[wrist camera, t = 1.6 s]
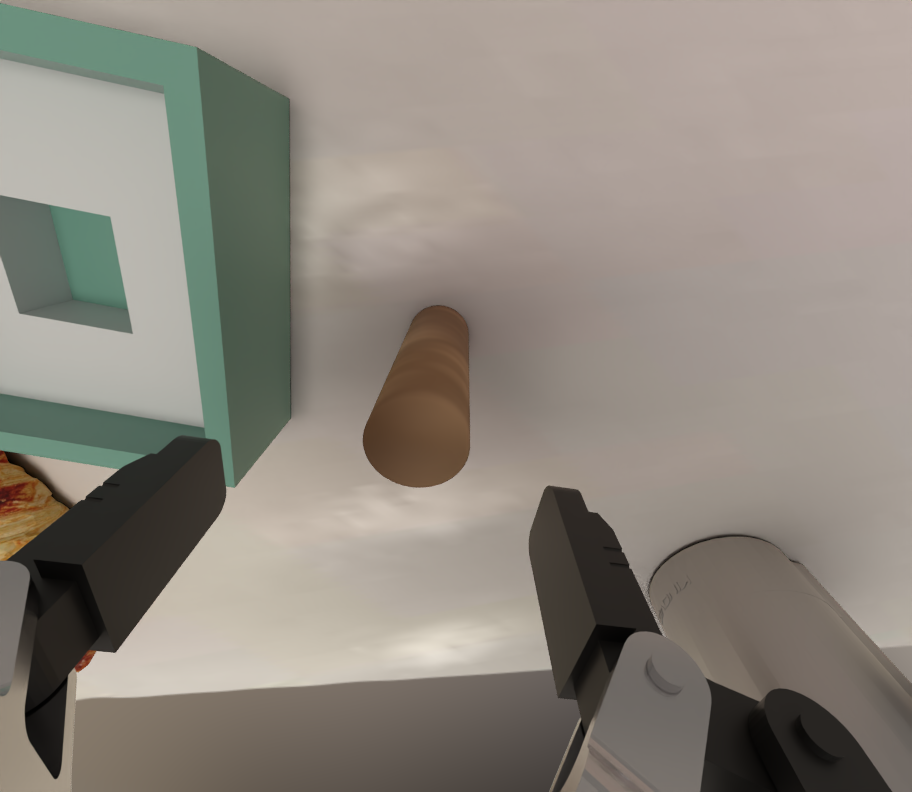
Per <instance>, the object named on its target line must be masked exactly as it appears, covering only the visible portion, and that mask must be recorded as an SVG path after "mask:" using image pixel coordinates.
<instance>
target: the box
mask: <svg viewBox="0 0 912 792" xmlns="http://www.w3.org/2000/svg"><path fill="white" fill-rule="evenodd" d="M290 419H291V401H290V176H289V99H288V98H286V97H285V96H283V95H281V94H279V93H278V92H276V91H274V90H272V89H270V88H269V87H267V86H265V85H263V84H261V83H260V82H258V81H256V80H254V79H252V78H251V77H249V76H247V75H245V74H244V73H242V72H240V71H238V70H236V69H235V68H233V67H231V66H229V65H227V64H226V63H224V62H222V61H220V60H219V59H217V58H215V57H213V56H211V55H210V54H208V53H206V52H204V51H202V50H201V49H199V48H197V47H193V46H189V45H184V44H180V43H176V42H171V41H167V40H162V39H158V38H153V37H149V36H144V35H140V34H135V33H131V32H126V31H122V30H117V29H113V28H109V27H104V26H100V25H95V24H91V23H86V22H82V21H77V20H73V19H68V18H64V17H59V16H55V15H51V14H46V13H42V12H37V11H33V10H28V9H24V8H19V7H15V6H10V5H6V4H1V3H0V450H2V451H8V452H14V453H21V454H27V455H33V456H39V457H46V458H52V459H58V460H64V461H71V462H77V463H83V464H90V465H96V466H102V467H108V468H115V469H121V468H122V467H123V466H125V465H127V464H129V463H131V462H133V461H135V460H137V459H140V458H142V457H144V456H146V455H148V454H150V453H153V454H157V453H158V452H159V451H161V450H162V449H163V448H164V447H165V446H166V445H168V444H169V443H170V442H171V441H172V440H174V439H175V438H176V437H178V436H181V435H186V436H193V437H200V438H208V439H215V440H217V441H218V442H219V443H220V446H221V452H222V460H223V468H224V476H225V484H226V486H227V487H234V488H235V487H236V486H237V484H238V483H239V482H240V481H241V479H242V478H243V477H244V476H245V474H246V473H247V472H248V471H249V469H250V468H251V467H252V466H253V464H254V463H255V462H256V461H257V460H258V458H259V457H260V456H261V455H262V453H263V452H264V451H265V450H266V448H267V447H268V446H269V445H270V443H271V442H272V441H273V440H274V438H275V437H276V436H277V435H278V433H279V432H280V431H281V430H282V428H283V427H284V426H285V425H286V424H287V422H288V421H289V420H290Z"/></svg>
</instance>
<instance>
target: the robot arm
mask: <svg viewBox="0 0 912 792" xmlns="http://www.w3.org/2000/svg"><path fill="white" fill-rule="evenodd" d="M225 498H226V484H225V476H224V468H223V460H222V452H221V446H220V443H219V442H218V441H217V440H215V439H208V438H200V437H193V436H186V435H181V436H178V437H176V438H175V439H174V440H172V441H171V442H170V443H169V444H168V445H166V446H165V447H164V448H163V449H162V450H161V451H159V452H158V453H157V454H153V453H150V454H148V455H146V456H144V457H142V458H140V459H137V460H135V461H133V462H131V463H129V464H127V465H125V466H123V467H122V468H121V469H119V470H118V471H117V472H116V473H114V474H113V475H112V476H111V477H110V478H108V479H107V480H106V481H105V482H103V485H102V486H98V487H97V488H96V489H95V490H93V491H92V492H91V493H90V494H88V495H87V496H86V499H85V500H81V501H80V502H78V503H77V504H76V505H75V506H73V507H72V508H71V509H70V510H68V511H67V512H66V513H65V514H63V515H62V516H61V517H60V518H58V519H57V520H56V521H55V522H53V523H52V524H51V525H50V526H49V527H47V528H46V529H45V530H44V531H42V532H41V533H40V534H39V535H37V536H36V537H35V538H34V539H32V540H31V541H30V542H29V543H27V544H26V545H25V546H24V547H22V548H21V549H20V550H19V551H17V552H16V553H15V554H14V555H12V556H11V557H10V558H8V559H7V560H6V561H0V792H71V771H72V754H73V736H74V718H75V701H76V683H77V674H76V670H75V668H74V667H75V666H76V665H77V664H78V662H79V661H80V660H81V659H82V658H83V656H84V655H85V654H86V653H87V651H88V650H93V651H103V652H113V653H116V651H117V650H118V649H119V647H120V646H121V645H122V643H123V642H124V641H125V639H126V638H127V637H128V635H129V634H130V633H131V631H132V630H133V629H134V627H135V626H136V625H137V623H138V622H139V621H140V619H141V618H142V617H143V615H144V614H145V613H146V612H147V610H148V609H149V608H150V606H151V605H152V604H153V602H154V601H155V600H156V598H157V597H158V596H159V594H160V593H161V592H162V590H163V589H164V588H165V586H166V585H167V584H168V582H169V581H170V580H171V578H172V577H173V576H174V574H175V573H176V572H177V570H178V569H179V568H180V566H181V565H182V564H183V562H184V561H185V560H186V558H187V557H188V556H189V554H190V553H191V552H192V550H193V549H194V548H195V546H196V545H197V544H198V542H199V541H200V540H201V538H202V537H203V536H204V534H205V533H206V532H207V530H208V529H209V528H210V526H211V525H212V524H213V522H214V521H215V520H216V518H217V517H218V516H219V514H220V512H221V510H222V508H223V505H224V502H225ZM529 555H530V560H531V565H532V570H533V575H534V580H535V585H536V590H537V595H538V600H539V605H540V610H541V615H542V620H543V625H544V630H545V635H546V640H547V645H548V650H549V655H550V660H551V665H552V670H553V675H554V680H555V685H556V690H557V695H558V698H564V699H574V700H577V702H578V707H579V711H580V715H581V718H580V719H579V721H578V723H577V725H576V728H575V730H574V733H573V735H572V738H571V740H570V742H569V745H568V748H567V750H566V752H565V755H564V757H563V760H562V762H561V764H560V767H559V769H558V772H557V774H556V776H555V779H554V781H553V784H552V786H551V789H550V791H549V792H912V683H911V682H910V681H909V680H908V679H907V678H906V677H905V676H904V675H903V674H902V673H901V671H899V669H898V668H897V667H896V666H895V665H894V664H893V663H892V662H891V661H890V660H889V658H888V657H887V656H886V655H885V654H884V653H883V652H882V651H881V650H880V649H879V647H878V646H877V645H876V644H875V643H874V642H873V641H872V640H871V639H870V638H869V637H868V635H867V634H866V633H865V632H864V631H863V630H862V629H861V628H860V627H859V626H858V625H857V623H856V622H855V621H854V620H853V619H852V618H851V617H850V616H849V615H848V614H847V613H846V611H845V610H844V609H843V608H842V607H841V606H840V605H839V604H838V603H837V602H836V601H835V599H834V598H833V597H832V596H831V595H830V594H829V593H828V592H827V591H826V590H825V588H824V587H823V586H822V585H821V584H820V583H819V582H818V581H817V580H816V579H815V578H814V576H813V575H812V574H811V573H810V572H809V571H808V570H807V569H806V568H805V567H804V566H803V564H800V563H794V562H791V561H790V560H789V559H788V558H787V557H786V556H785V555H784V554H783V552H782V551H781V550H779V549H778V548H777V547H775V546H774V545H772V544H771V543H768V542H765V541H763V540H760V539H755V538H750V537H724V538H716V539H712V540H708V541H704V542H701V543H698V544H695V545H693V546H691V547H688V548H686V549H684V550H682V551H681V552H679V553H677V554H676V555H674V556H673V557H671V558H670V559H669V560H668V561H667V562H665V563H664V564H663V565H662V566H661V567H660V569H659V570H658V571H657V572H656V574H655V575H654V577H653V579H652V582H651V584H650V590H649V596H650V601H651V604H652V606H653V608H654V611H655V613H656V615H657V617H658V619H659V622H660V624H661V626H662V628H663V630H664V633H665V635H666V637H667V638H666V637H664V636H663V635H662V633H661V632H660V630H659V627H658V625H657V623H656V621H655V619H654V617H653V615H652V612H651V610H650V608H649V606H648V604H647V602H646V600H645V597H644V595H643V593H642V591H641V589H640V587H639V585H638V582H637V580H636V578H635V576H634V574H633V572H632V569H629V563H628V561H627V559H626V557H625V554H624V553H622V548H621V546H620V544H619V542H618V539H617V537H616V535H615V533H614V531H613V529H612V528H611V527H610V526H609V525H608V524H607V523H606V522H605V521H604V520H603V518H602V517H601V516H600V515H599V514H598V513H593V512H588V510H587V507H586V505H585V502H584V500H583V498H582V495H581V493H580V492H579V490H577V489H570V488H562V487H555V486H547V487H546V488H545V490H544V492H543V495H542V498H541V501H540V504H539V507H538V510H537V513H536V516H535V519H534V522H533V525H532V528H531V531H530V536H529Z"/></svg>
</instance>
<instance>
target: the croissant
mask: <svg viewBox="0 0 912 792" xmlns="http://www.w3.org/2000/svg"><path fill="white" fill-rule="evenodd" d="M51 495H52V493H51V492H50V490H49V489H48V488H47V487H46V486H45V485H44V484H43V483H42V482H41V481H39V480H38V479H37V478H32V477H31V476H30V475H28V474H26V473H25V471H24V469H23V468H22V467H20V466H17V465H13V464H10V463H9V462H8V460H7V457H6V455H5V452H4V451H2V450H0V561H6V560H7V559H8V558H10V557H11V556H12V555H14V554H15V553H16V552H17V551H19V550H20V549H21V548H22V547H24V546H25V545H26V544H27V543H29V542H30V541H31V540H32V539H34V538H35V537H36V536H37V535H39V534H40V533H41V532H42V531H44V530H45V529H46V528H47V527H49V526H50V525H51V524H52V523H53V522H55V521H56V520H57V519H58V518H60V517H61V516H62V515H63V514H65V513H66V512H67V511H68V510H70V509H68V508H67V507H66V506H65V505H64V504H62V503H60V502H57V501H56V500H55V499H54V498H53V497H52V496H51ZM95 652H96V651H93V650H88V651H87V653H86V654H85V655H84V656H83V658H82V659H81V660H80V661H79V662H78V664H77V665H76V666H75V667H74V668H75V670H76V672H79V671H81V670H82V669H83V668H85V667H86V666H87V665H88V664H89V663H90V661H91V659H92V658H93V656H94V654H95Z"/></svg>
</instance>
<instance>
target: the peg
mask: <svg viewBox="0 0 912 792" xmlns="http://www.w3.org/2000/svg"><path fill="white" fill-rule="evenodd" d="M363 446H364V450H365V454H366V456H367V458H368V460H369V462H370V463H371V465H372V466H373V467H374V468H375V469H376V470H377V471H378V472H379V473H380V474H381V475H383V476H384V477H385V478H387V479H389V480H391V481H393V482H395V483H397V484H401V485H404V486H409V487H431V486H435V485H439V484H442V483H444V482H446V481H448V480H449V479H451V478H453V477H454V476H455V475H456V474H457V473H458V472H459V471H460V470H461V469H462V468H463V466H464V465H465V463H466V461H467V459H468V456H469V451H470V407H469V332H468V327H467V324H466V322H465V320H464V319H463V317H462V316H461V315H460V314H459V313H458V312H457V311H455V310H454V309H452V308H449V307H446V306H440V305H436V306H431V307H427V308H425V309H423V310H422V311H420V312H419V313H418V314H417V315H416V316H415V318H414V319H413V321H412V323H411V325H410V328H409V330H408V332H407V334H406V336H405V339H404V341H403V343H402V345H401V348H400V350H399V352H398V354H397V357H396V359H395V361H394V363H393V365H392V368H391V370H390V372H389V374H388V377H387V379H386V381H385V383H384V386H383V388H382V390H381V392H380V395H379V397H378V399H377V401H376V403H375V406H374V408H373V410H372V412H371V415H370V417H369V419H368V421H367V424H366V426H365V429H364V433H363Z"/></svg>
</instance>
